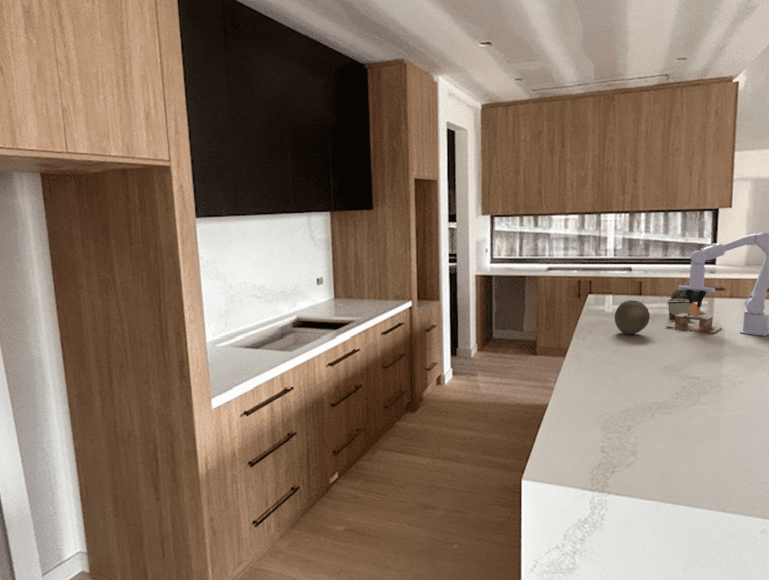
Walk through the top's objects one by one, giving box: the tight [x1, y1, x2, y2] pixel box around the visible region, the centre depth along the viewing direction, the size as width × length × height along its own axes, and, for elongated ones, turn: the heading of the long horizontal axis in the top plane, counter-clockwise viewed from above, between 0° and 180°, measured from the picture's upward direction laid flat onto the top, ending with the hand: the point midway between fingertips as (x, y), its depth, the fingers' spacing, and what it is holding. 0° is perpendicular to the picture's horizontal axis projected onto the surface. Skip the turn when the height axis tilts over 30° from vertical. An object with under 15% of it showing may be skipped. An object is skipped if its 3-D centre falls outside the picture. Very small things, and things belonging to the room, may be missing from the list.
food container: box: [666, 298, 691, 321], centre depth 276 cm, size 12×6×10 cm, turn 84°
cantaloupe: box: [614, 299, 651, 335], centre depth 245 cm, size 14×14×15 cm
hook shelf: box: [664, 313, 723, 335], centre depth 255 cm, size 20×13×6 cm, turn 46°
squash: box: [670, 284, 703, 308], centre depth 297 cm, size 14×15×15 cm
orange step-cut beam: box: [690, 302, 701, 316], centre depth 254 cm, size 2×7×6 cm, turn 136°
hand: (695, 306), depth 253 cm, fingers closed on orange step-cut beam, 2 cm apart
